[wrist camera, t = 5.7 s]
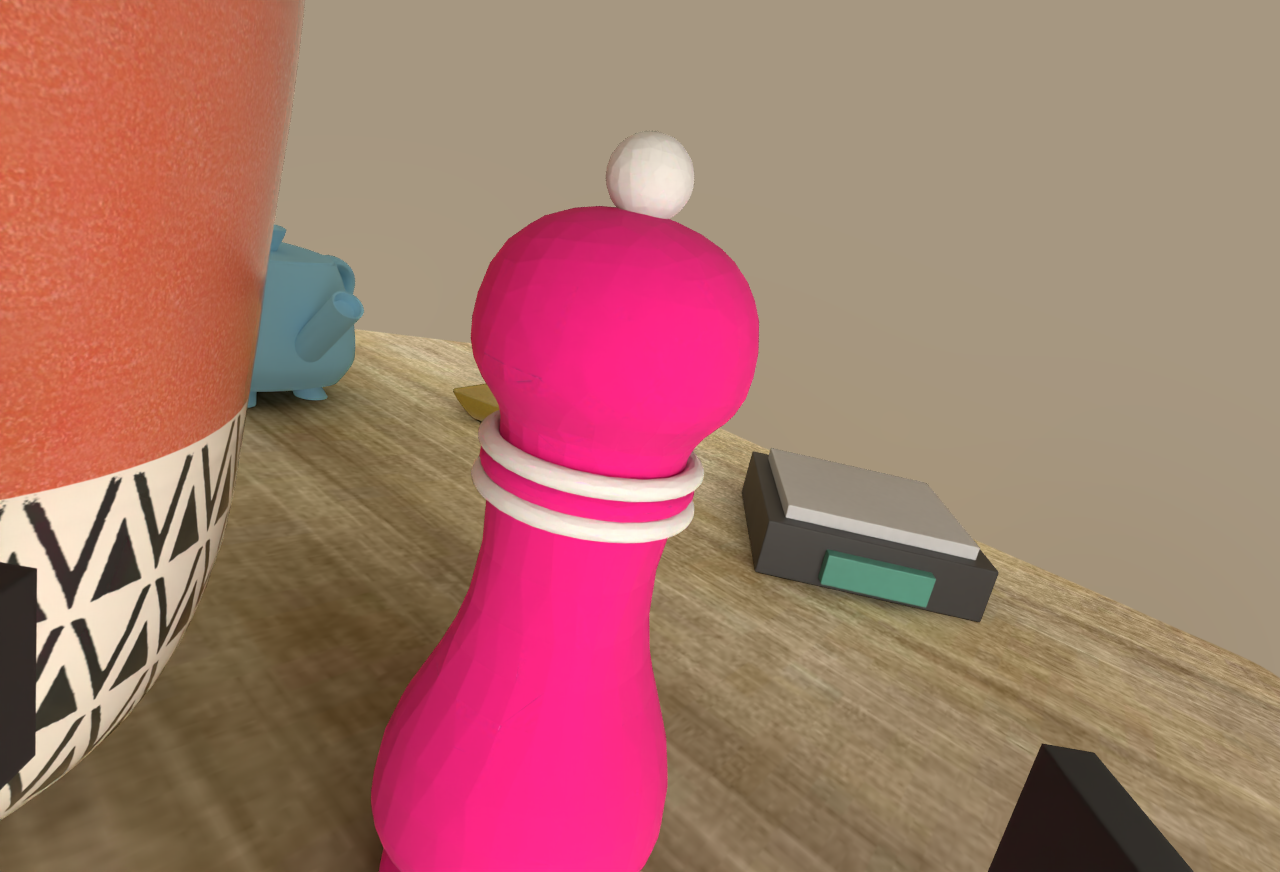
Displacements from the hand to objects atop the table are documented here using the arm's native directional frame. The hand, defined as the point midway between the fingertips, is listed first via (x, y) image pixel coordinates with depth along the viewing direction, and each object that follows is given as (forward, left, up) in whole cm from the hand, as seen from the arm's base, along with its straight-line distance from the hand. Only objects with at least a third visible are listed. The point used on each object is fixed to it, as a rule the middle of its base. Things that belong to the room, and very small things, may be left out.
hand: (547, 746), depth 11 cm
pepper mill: (+8, +1, -12) cm, 14 cm away
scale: (+40, -15, -12) cm, 44 cm away
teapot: (+45, +27, -12) cm, 54 cm away
